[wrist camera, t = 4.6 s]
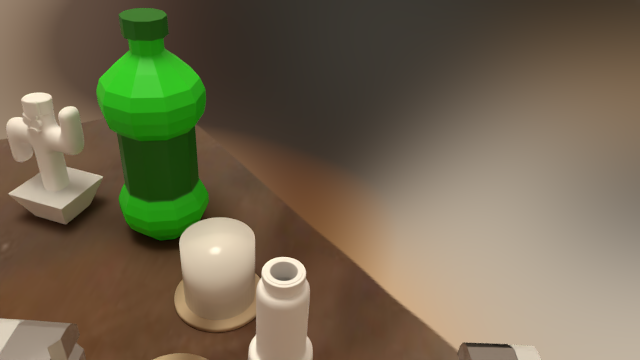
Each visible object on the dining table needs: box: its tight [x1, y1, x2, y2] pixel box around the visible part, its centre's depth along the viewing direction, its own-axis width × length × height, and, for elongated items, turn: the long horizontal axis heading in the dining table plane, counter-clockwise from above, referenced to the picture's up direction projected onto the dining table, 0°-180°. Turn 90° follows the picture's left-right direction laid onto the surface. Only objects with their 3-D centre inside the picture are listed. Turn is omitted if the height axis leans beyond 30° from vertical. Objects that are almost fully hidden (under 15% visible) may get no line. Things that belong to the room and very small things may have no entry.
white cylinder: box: [179, 217, 255, 320], centre depth 52 cm, size 7×7×7 cm
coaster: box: [174, 274, 260, 332], centre depth 54 cm, size 9×9×1 cm
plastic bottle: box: [96, 8, 209, 240], centre depth 57 cm, size 10×10×25 cm
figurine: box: [6, 93, 103, 225], centre depth 61 cm, size 7×9×15 cm
